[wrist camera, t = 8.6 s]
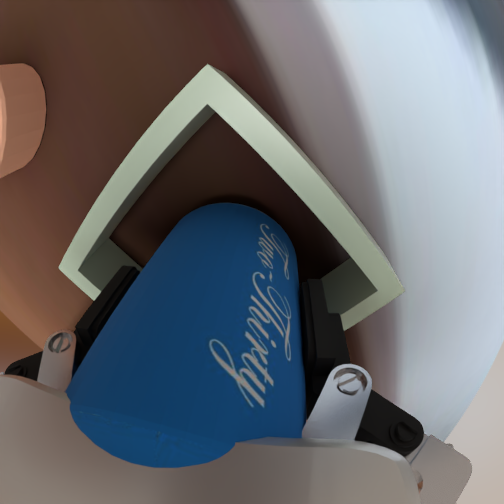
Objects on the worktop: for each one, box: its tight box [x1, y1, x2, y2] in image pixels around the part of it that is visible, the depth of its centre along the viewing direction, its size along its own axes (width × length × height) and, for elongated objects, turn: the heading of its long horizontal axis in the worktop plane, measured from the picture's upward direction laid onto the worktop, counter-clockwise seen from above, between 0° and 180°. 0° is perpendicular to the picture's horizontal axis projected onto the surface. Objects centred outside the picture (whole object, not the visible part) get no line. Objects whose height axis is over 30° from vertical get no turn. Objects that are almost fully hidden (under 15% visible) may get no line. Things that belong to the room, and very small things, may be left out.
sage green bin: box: [59, 64, 405, 331], centre depth 13 cm, size 12×12×4 cm
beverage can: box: [65, 203, 307, 468], centre depth 9 cm, size 6×6×12 cm
